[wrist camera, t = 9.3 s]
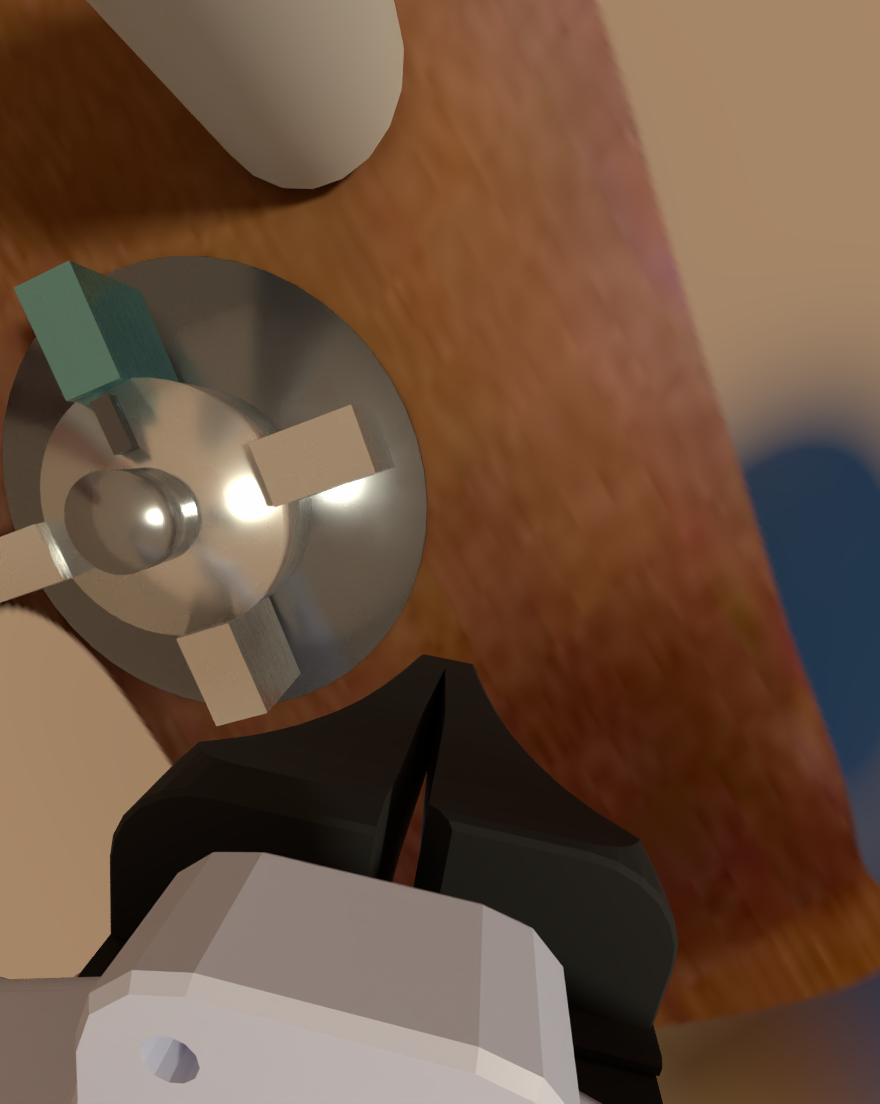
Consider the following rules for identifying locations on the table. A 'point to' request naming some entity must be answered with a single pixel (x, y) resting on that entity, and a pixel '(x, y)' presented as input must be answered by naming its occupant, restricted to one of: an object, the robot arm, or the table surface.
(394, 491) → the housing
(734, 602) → the table surface
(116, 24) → the can
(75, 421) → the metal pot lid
